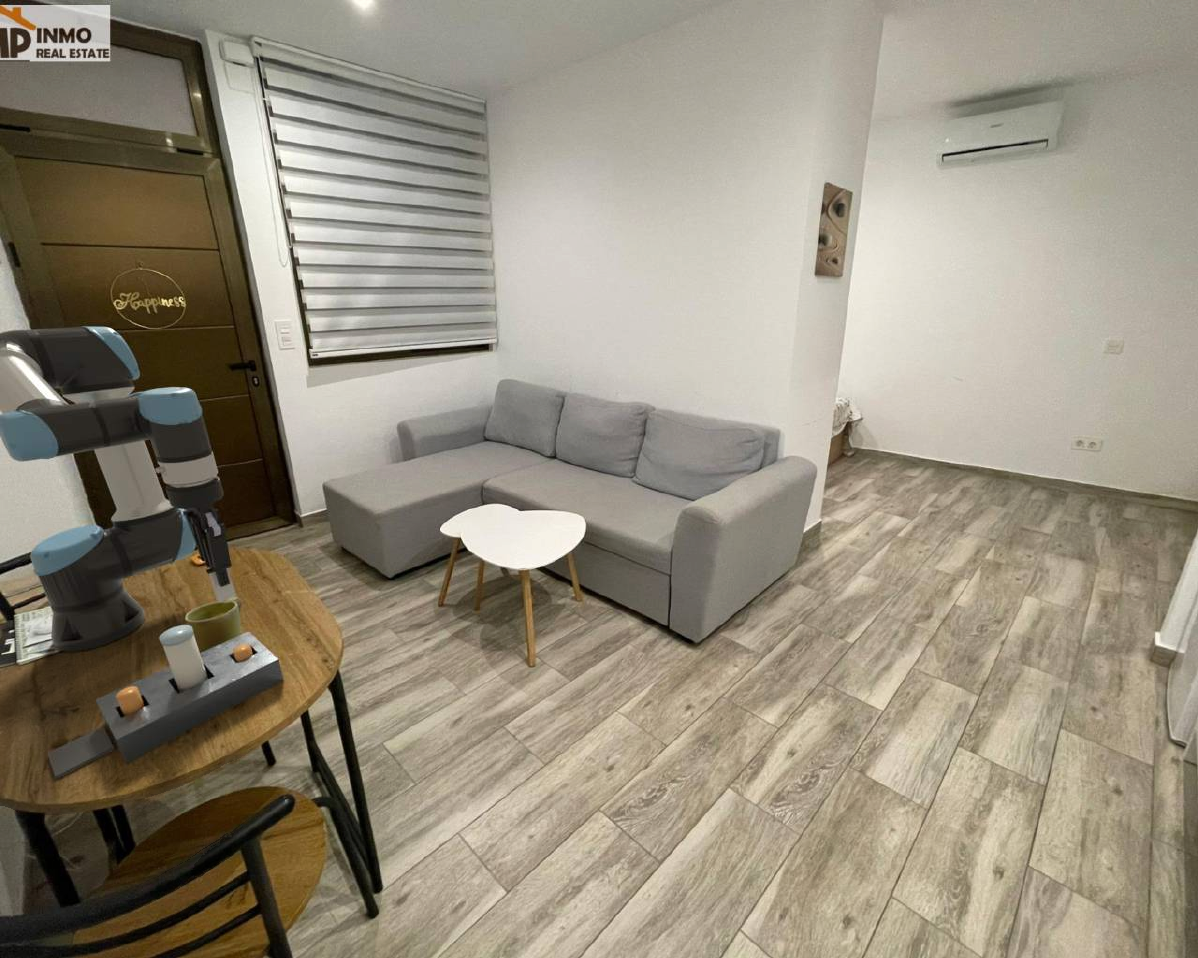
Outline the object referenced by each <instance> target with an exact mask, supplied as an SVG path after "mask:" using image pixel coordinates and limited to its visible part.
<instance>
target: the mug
mask: <svg viewBox="0 0 1198 958" xmlns="http://www.w3.org/2000/svg"><path fill="white" fill-rule="evenodd" d="M242 607H243V601H242V600H241V599H240V598H239V597H238V596H235V597H233V598H230V599H228V600H225V601H223V602H219V601H216V602H211V603H206V604H203V605H200V606H198V607H196V608H194V609H192V610H190V611H188V612H187V613H186V614H185V617H184V618H185V619H184V620H185V621H184V622H185V625H190V626H191V627H192V629H193V632H194V637H195V640H196V643H197V646H198V649H199V652H200V653H201V652H204V651H206V650H208V649H210V648H213V647H215V646H217V645H219V644H222V643H224V642H226V641H228V640H231V639H233V638H235V637H237V636H240V635H242V634H243V630H242V627H241V619H240V618H241V617H240V616H241V613H242Z"/></svg>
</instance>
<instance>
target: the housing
mask: <svg viewBox="0 0 1198 958" xmlns="http://www.w3.org/2000/svg"><path fill="white" fill-rule="evenodd" d="M243 644H249V645H250V646H251V650H252V653H253V655H252V656H250V657H248V658H246V659H244V660H242V661H240V662H238V663H237V662H236V659H235V656H234V652H233V651H234V649H235V648H236V647H238V646H240V645H243ZM200 655H201V659H202V662H203V665H204V668H205V671H206V674H207V677H208V680H206V681H204V682H202V683H200V684H198V685H196V686H194V687H192V688H190V689H188V690H186V691H184V692H181V693H180V692H179V690H178V687H177V684H176V681H175V678H174V676H173V673H172V670H171V667H170V666H168V667H165V668H164V669H162V670H159V671H156V672H155V673H152V674H150V675H148V676H145V677H143V678H140V679H138V680H136V681H135V682H132V683H130V684H128V685H126V686H124V687H120V688H118V689H116V690H114V691H112V692H110V693H107V694H104V695H103V696H100V697H99V698H96V699H95V701H96V703H97V706H98V708H99V710H100V713H101V715H102V717H103V720H104V722H105V724H106V726H107V728H108V729H109V732H110V734H111V735H112V738H113V740H114V742H115V743H116V746H117V747H118V750H119V752H120V754H121V755H122V757H123V759H124V761H125V763H126V764H128V763H130V762H132V761H134V760H136V759H138V758H139V757H142V756H143V755H146V754H147V753H149V752H151V751H153V750H155V749H157V748H158V747H160V746H163V745H164V744H166V743H168V742H169V741H171V740H173V739H176V738H177V737H179V736H181V735H182V734H185V733H186V732H189V731H190V730H192V729H194V728H196V727H198V726H200V725H202V724H203V723H205V722H207V721H209V720H211V719H213V718H215V717H216V716H218V715H220V714H223V713H225V712H226V711H228V710H230V709H232V708H234V707H236V706H237V705H239V704H241V703H243V702H245V701H247V700H249V699H251V698H252V697H254V696H256V695H258V694H260V693H262V692H264V691H266V690H267V689H269V688H272V687H273V686H275V685H277V684H279V683H280V682H283V681H284V676H283V672H282V668H281V664H280V660H279V658H278V657H277V656H275V654H274V653H272V652H271V651H270V650H269V649H268V648H267V646H265V645H264V644H263V643H262V642H261V641H260V640H258V638H257V637H255V635H253V634H252V632H250V631H246V632H244V633H242V635H240V636H237V637H235V638H233V639H231V640H228V641H226V642H224V643H222V644H219V645H217V646H215V647H213V648H210V649H208V650H206V651H204V652H201V653H200ZM131 686H136V687H137V688H138V690H139V693H140V695H141V698H142V701H143V703H144V706H145V707H144V708H142V709H140V710H137V711H135V712H133V713H131V714H129V715H127V716H125V717H124V715H123V713H122V710H121V708H120V705H119V703H118V700H117V698H116V695H117V693H118V692H120V691H121V690H123V689H125V688H127V687H131Z"/></svg>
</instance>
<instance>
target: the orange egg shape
mask: <svg viewBox="0 0 1198 958" xmlns="http://www.w3.org/2000/svg"><path fill="white" fill-rule="evenodd" d="M233 652H234V656H235V659H236V662H237V663H238V662H240V661H242V660H244V659H246V658H248V657H250V656H252V655H253V653H252V650H251V646H250V645H249V644H243V645H240V646H238V647H236V648H235V649H234V651H233Z"/></svg>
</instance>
